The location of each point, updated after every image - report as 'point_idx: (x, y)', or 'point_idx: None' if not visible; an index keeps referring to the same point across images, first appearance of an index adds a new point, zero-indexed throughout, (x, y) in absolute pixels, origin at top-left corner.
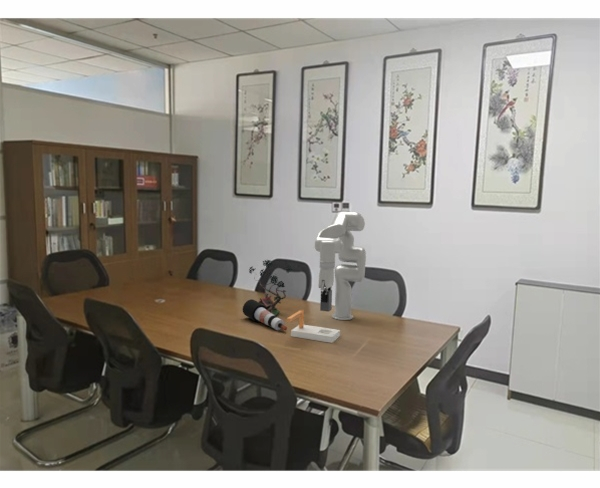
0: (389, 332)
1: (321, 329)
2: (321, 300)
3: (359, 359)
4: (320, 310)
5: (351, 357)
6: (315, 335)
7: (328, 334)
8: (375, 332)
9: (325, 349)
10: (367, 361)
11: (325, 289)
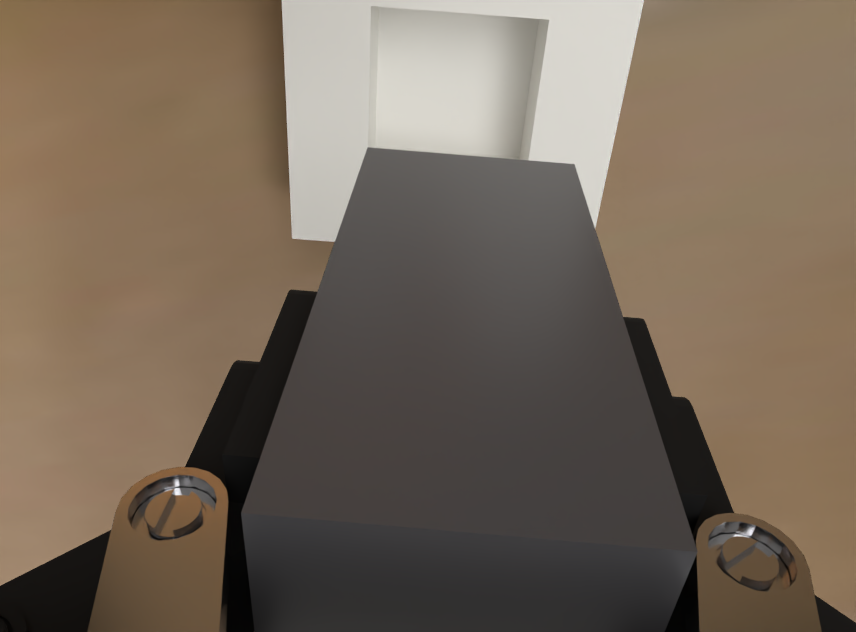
0: (847, 557)
1: (549, 19)
2: (284, 311)
3: (101, 455)
4: (365, 154)
5: (101, 404)
6: (284, 2)
7: (357, 175)
8: (831, 474)
9: (141, 169)
10: (101, 500)
11: (645, 611)
